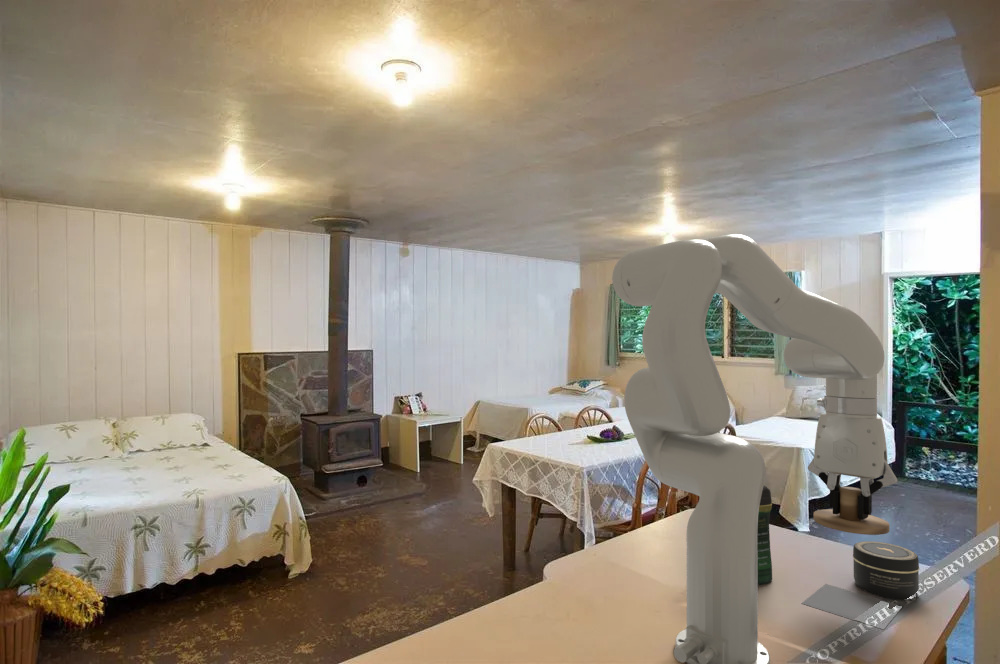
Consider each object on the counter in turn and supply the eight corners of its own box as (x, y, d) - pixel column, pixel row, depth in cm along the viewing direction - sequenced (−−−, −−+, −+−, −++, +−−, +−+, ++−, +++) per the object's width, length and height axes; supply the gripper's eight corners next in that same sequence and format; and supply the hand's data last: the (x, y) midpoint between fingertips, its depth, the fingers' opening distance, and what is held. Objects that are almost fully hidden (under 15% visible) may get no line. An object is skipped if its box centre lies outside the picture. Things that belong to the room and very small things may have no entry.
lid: (878, 539, 89) (878, 500, 89) (803, 522, 97) (804, 487, 97) (897, 526, 96) (897, 490, 96) (826, 511, 104) (826, 478, 105)
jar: (854, 576, 110) (854, 536, 110) (918, 589, 104) (917, 547, 105) (851, 595, 102) (851, 552, 102) (921, 609, 96) (920, 564, 96)
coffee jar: (780, 585, 106) (780, 485, 106) (745, 590, 103) (745, 487, 104) (743, 565, 115) (743, 473, 115) (710, 570, 112) (710, 476, 113)
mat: (884, 633, 88) (884, 629, 88) (801, 606, 97) (801, 603, 97) (903, 609, 96) (903, 606, 96) (825, 587, 105) (825, 583, 105)
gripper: (791, 404, 101) (791, 508, 100) (902, 413, 89) (902, 532, 88) (807, 402, 106) (806, 501, 105) (914, 410, 94) (914, 523, 93)
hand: (850, 514), depth 97 cm, fingers closed on lid, 3 cm apart
